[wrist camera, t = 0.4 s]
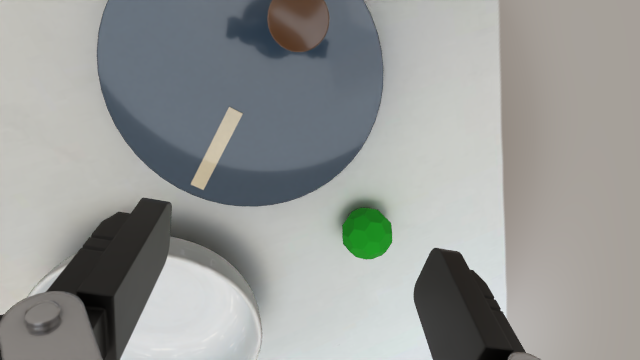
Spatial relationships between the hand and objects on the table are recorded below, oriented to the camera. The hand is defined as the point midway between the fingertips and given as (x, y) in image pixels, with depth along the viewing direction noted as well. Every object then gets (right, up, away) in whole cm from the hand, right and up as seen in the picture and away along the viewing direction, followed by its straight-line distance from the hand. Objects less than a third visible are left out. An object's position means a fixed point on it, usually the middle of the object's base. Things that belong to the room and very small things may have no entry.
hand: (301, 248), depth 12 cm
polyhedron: (+5, -2, +28) cm, 28 cm away
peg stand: (-5, +10, +20) cm, 23 cm away
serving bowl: (-16, -10, +29) cm, 35 cm away
